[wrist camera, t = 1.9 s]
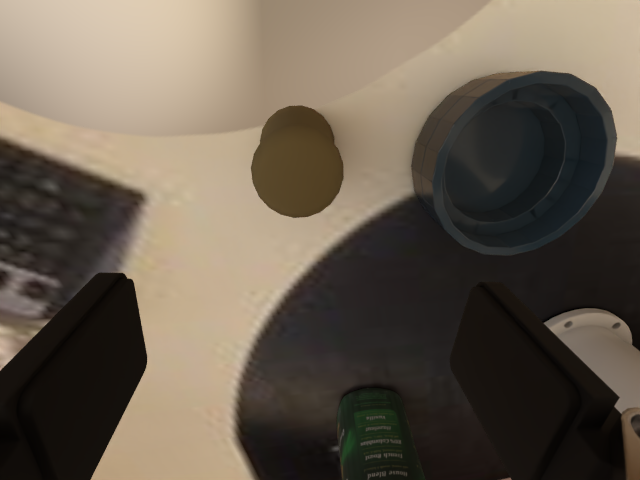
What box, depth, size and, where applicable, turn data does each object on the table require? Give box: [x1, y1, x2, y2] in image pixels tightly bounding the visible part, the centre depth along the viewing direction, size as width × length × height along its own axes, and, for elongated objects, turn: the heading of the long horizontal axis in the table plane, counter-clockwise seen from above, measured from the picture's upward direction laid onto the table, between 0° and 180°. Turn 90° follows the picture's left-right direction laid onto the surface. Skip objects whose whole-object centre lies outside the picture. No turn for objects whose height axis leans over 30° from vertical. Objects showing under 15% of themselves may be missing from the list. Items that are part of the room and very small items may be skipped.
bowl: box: [411, 71, 617, 255], centre depth 27 cm, size 13×13×6 cm
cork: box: [251, 106, 343, 218], centre depth 23 cm, size 6×6×11 cm
